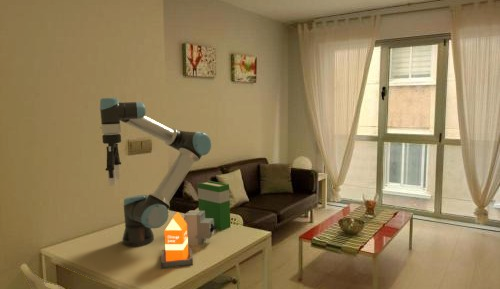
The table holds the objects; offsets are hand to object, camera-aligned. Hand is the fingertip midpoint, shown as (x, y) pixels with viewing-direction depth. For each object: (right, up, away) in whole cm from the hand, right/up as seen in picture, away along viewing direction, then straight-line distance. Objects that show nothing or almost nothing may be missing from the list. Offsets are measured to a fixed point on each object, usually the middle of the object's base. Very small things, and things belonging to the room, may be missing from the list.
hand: (114, 182), depth 160 cm
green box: (+39, -29, +45) cm, 67 cm away
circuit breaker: (+35, -32, +20) cm, 52 cm away
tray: (+27, -34, 0) cm, 44 cm away
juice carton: (+28, -34, -1) cm, 44 cm away
